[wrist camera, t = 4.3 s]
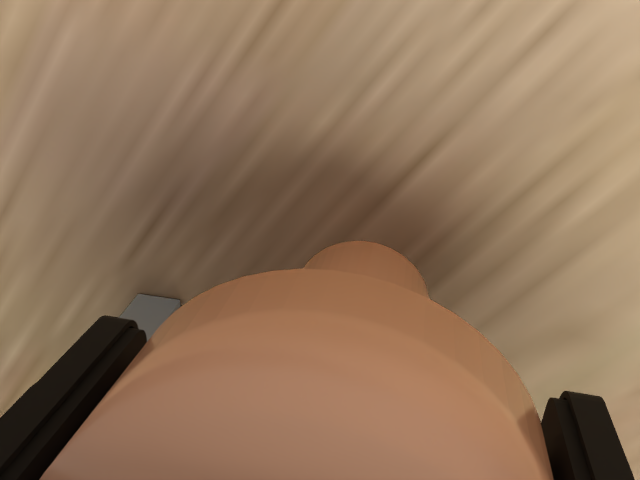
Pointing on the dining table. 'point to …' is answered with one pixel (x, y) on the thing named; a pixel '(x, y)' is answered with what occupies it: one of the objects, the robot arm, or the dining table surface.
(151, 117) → the dining table surface
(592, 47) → the dining table surface
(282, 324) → the peg
